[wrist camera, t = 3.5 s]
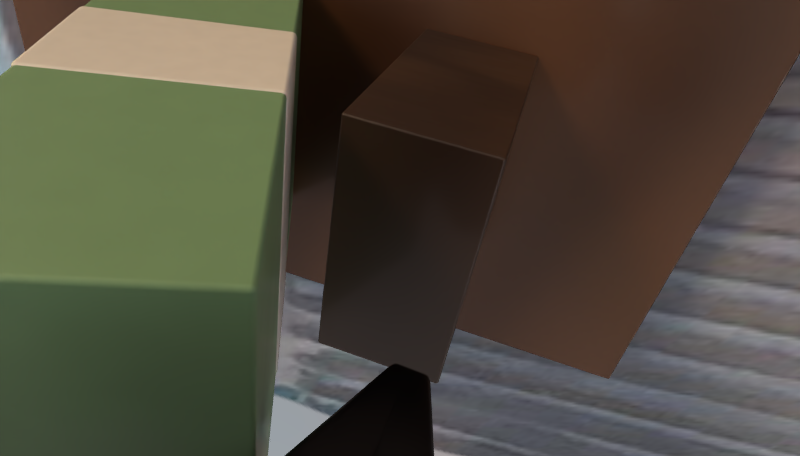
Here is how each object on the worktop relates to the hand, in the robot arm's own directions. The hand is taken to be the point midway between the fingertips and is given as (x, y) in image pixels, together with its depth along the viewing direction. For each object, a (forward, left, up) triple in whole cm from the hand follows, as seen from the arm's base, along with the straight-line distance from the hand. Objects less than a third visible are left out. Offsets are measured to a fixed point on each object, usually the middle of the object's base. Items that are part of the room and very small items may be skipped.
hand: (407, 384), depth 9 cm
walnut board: (-5, 0, -9) cm, 11 cm away
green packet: (-5, 0, -8) cm, 10 cm away
